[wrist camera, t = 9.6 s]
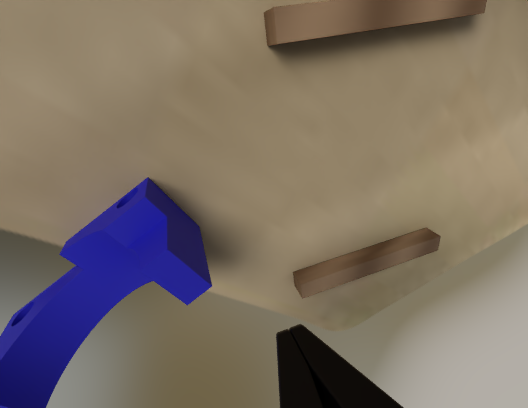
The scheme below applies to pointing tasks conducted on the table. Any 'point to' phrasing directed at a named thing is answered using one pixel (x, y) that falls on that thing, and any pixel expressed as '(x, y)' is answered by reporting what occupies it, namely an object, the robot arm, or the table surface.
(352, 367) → the robot arm
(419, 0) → the brown wooden bars
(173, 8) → the table surface
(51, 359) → the cable clip
